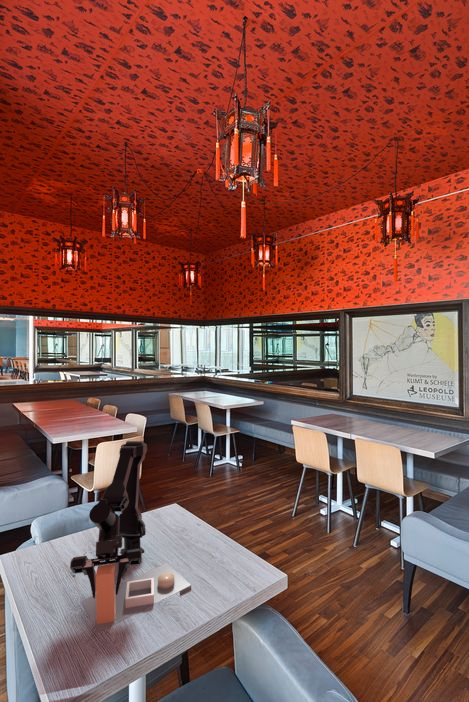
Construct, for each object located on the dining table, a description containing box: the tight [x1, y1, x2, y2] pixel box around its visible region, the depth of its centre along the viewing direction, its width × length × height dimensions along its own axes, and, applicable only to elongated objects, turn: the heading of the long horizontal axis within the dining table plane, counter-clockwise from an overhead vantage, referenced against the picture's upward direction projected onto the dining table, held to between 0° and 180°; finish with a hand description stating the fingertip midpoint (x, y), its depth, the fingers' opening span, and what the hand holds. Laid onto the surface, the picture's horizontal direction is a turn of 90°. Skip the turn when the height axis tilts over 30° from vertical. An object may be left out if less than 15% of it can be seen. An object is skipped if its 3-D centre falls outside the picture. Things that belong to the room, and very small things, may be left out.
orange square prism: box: [95, 563, 116, 624], centre depth 100 cm, size 4×4×13 cm
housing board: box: [80, 562, 192, 633], centre depth 110 cm, size 15×28×4 cm, turn 130°
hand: (105, 596), depth 99 cm, fingers open, 5 cm apart
